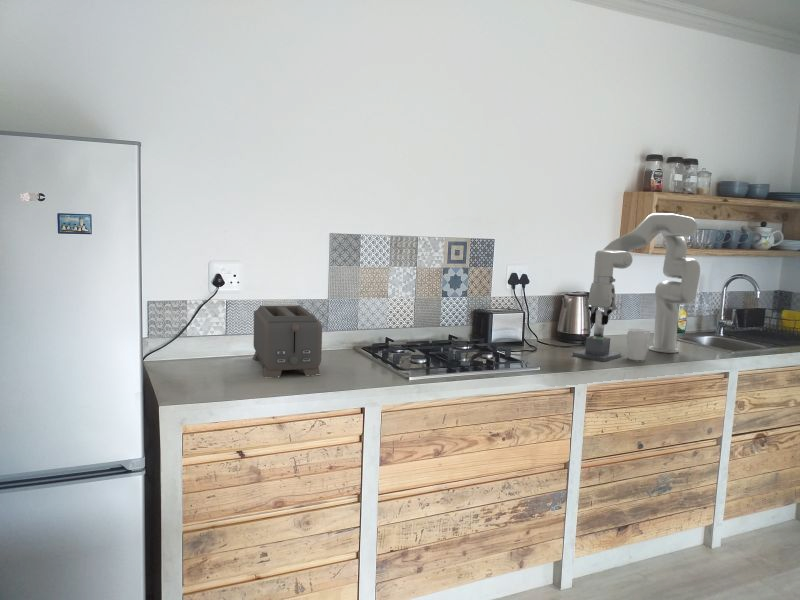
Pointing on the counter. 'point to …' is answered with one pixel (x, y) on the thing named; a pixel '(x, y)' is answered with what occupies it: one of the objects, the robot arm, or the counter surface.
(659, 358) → the counter surface
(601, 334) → the column
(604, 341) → the stand base
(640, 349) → the cup
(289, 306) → the toaster
